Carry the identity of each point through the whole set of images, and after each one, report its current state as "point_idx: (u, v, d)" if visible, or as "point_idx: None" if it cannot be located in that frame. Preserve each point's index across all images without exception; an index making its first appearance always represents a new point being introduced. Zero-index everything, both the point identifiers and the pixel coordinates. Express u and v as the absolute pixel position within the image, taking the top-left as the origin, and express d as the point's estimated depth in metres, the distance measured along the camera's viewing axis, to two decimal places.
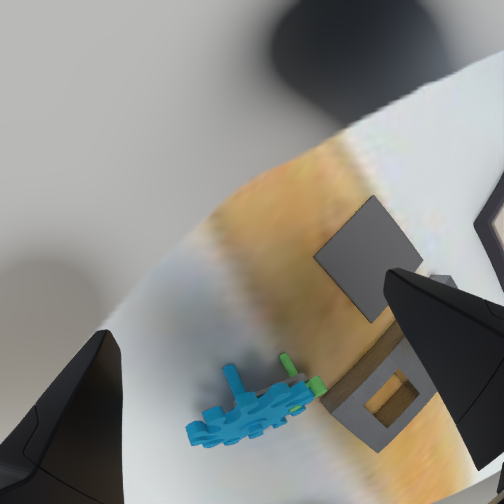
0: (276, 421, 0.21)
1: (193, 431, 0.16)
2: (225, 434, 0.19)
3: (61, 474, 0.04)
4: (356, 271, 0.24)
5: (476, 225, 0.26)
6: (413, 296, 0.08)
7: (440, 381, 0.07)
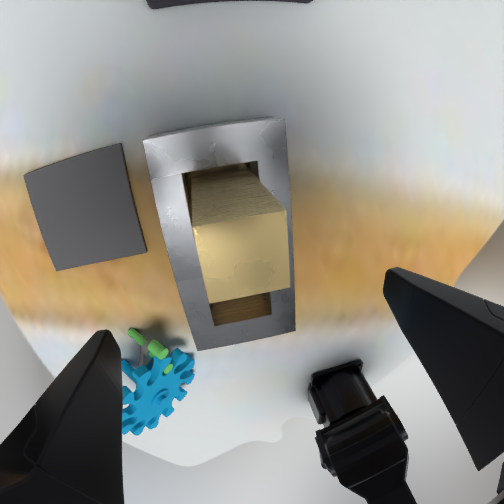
0: (177, 375, 0.24)
1: (133, 433, 0.22)
2: (156, 412, 0.24)
3: (62, 474, 0.04)
4: (84, 241, 0.19)
5: (151, 6, 0.13)
6: (413, 296, 0.08)
7: (440, 381, 0.07)
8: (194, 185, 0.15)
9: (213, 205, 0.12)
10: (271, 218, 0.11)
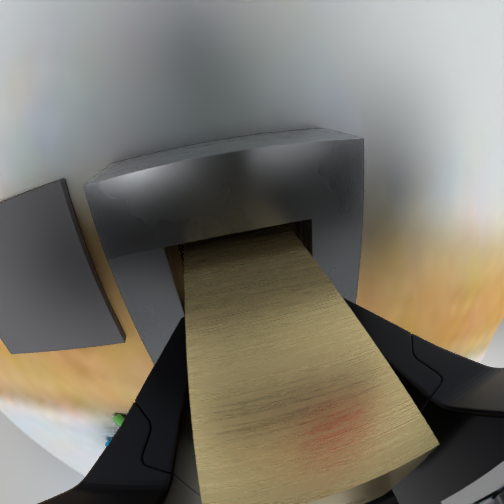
0: None
1: None
2: None
3: (187, 478, 0.04)
4: (35, 323, 0.11)
5: None
6: None
7: None
8: (190, 283, 0.07)
9: (244, 404, 0.04)
10: (404, 466, 0.03)
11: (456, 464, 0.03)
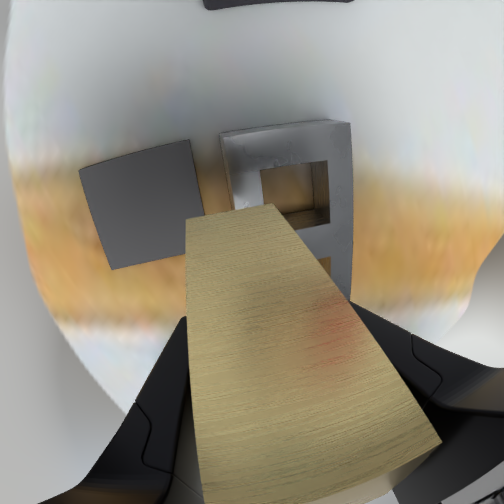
0: None
1: None
2: None
3: (186, 477, 0.04)
4: (146, 237, 0.20)
5: (209, 7, 0.14)
6: None
7: None
8: (192, 282, 0.07)
9: (248, 403, 0.04)
10: (406, 465, 0.03)
11: (456, 464, 0.03)
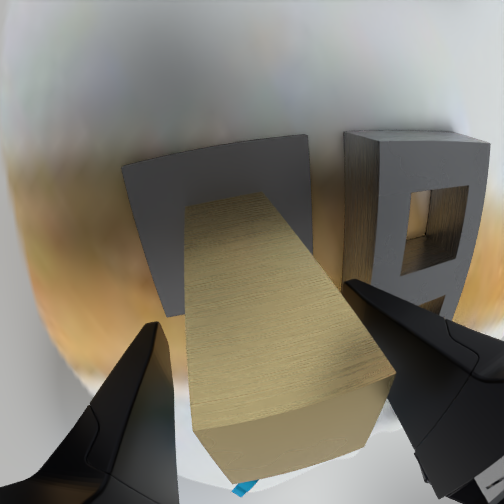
0: None
1: None
2: None
3: (130, 480, 0.04)
4: None
5: None
6: (367, 312, 0.07)
7: (398, 402, 0.07)
8: (189, 254, 0.09)
9: (231, 338, 0.06)
10: (365, 392, 0.04)
11: (495, 434, 0.03)
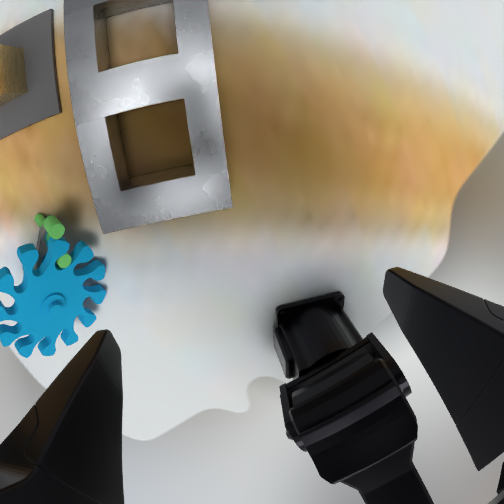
0: (78, 280, 0.18)
1: (19, 352, 0.15)
2: (50, 329, 0.17)
3: (61, 474, 0.04)
4: (4, 109, 0.13)
5: None
6: (413, 296, 0.08)
7: (440, 381, 0.07)
8: None
9: None
10: None
11: None
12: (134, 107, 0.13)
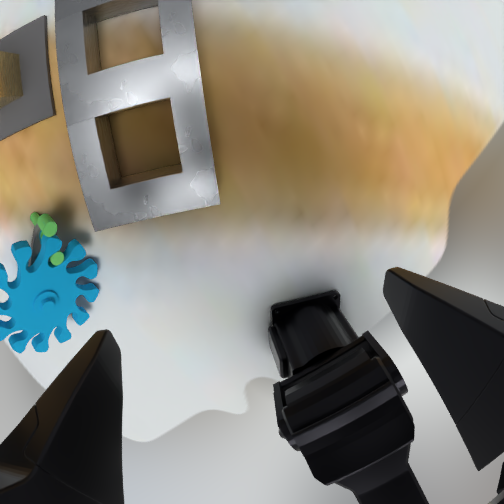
0: (71, 277, 0.18)
1: None
2: (43, 326, 0.17)
3: (62, 474, 0.04)
4: (1, 113, 0.13)
5: None
6: (413, 296, 0.08)
7: (440, 381, 0.07)
8: None
9: None
10: None
11: None
12: (122, 107, 0.14)
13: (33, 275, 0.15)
